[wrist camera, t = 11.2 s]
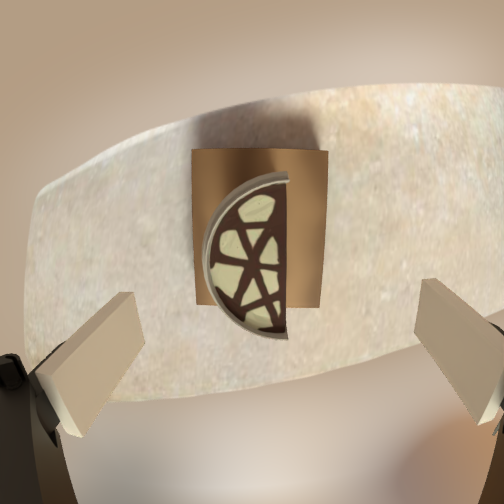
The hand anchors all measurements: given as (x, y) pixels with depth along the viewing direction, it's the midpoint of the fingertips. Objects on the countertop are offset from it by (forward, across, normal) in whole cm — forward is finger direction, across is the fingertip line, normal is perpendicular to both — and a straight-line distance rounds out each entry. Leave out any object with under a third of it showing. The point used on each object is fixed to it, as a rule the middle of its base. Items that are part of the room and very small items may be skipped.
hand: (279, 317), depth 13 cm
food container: (+18, +3, 0) cm, 18 cm away
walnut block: (+22, +2, 0) cm, 23 cm away
